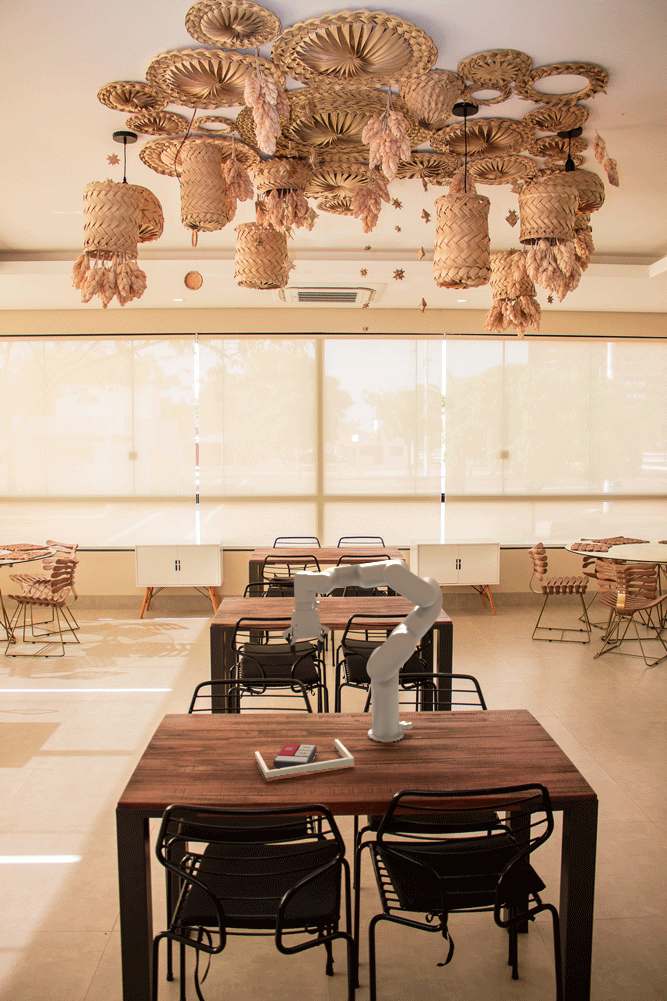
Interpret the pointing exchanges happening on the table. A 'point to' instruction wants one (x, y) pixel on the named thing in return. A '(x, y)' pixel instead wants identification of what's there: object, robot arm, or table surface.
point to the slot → (342, 762)
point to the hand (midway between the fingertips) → (306, 653)
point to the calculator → (294, 755)
